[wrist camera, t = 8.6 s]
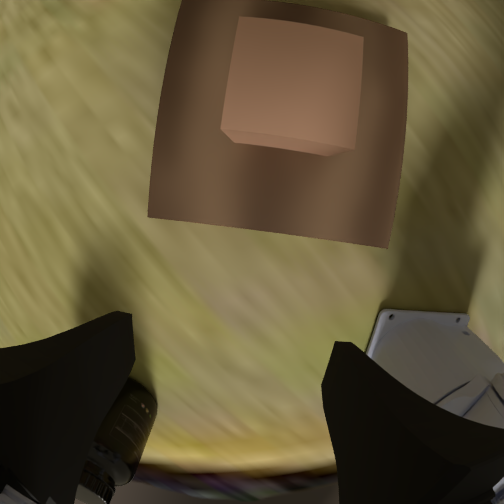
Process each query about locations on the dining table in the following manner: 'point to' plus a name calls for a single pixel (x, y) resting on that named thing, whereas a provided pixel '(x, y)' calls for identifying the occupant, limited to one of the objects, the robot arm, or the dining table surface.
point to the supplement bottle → (118, 444)
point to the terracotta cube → (293, 87)
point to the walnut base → (269, 158)
